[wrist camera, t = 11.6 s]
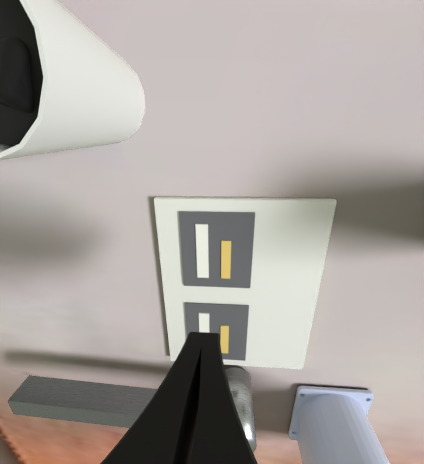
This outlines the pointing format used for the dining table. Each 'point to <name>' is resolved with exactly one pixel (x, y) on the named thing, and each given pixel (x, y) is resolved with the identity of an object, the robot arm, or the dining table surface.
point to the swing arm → (113, 401)
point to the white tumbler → (61, 83)
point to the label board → (243, 273)
